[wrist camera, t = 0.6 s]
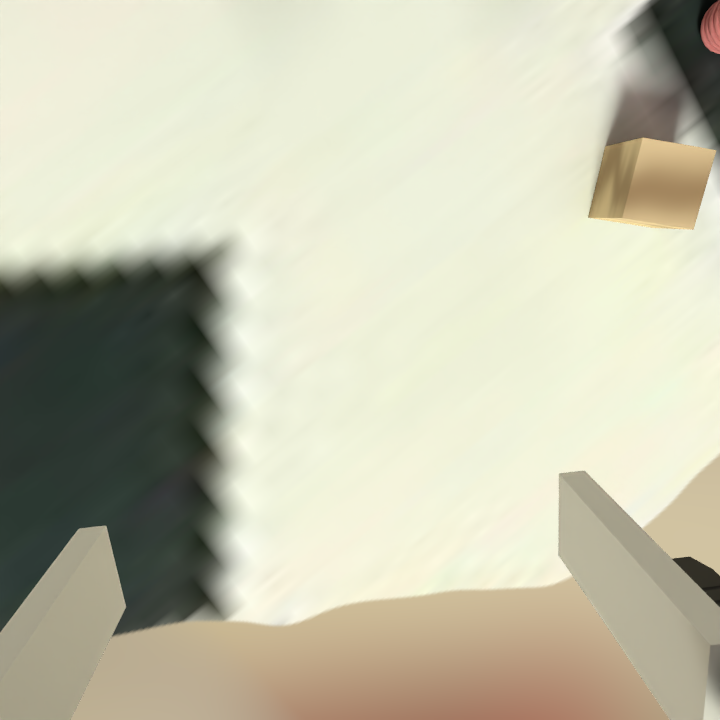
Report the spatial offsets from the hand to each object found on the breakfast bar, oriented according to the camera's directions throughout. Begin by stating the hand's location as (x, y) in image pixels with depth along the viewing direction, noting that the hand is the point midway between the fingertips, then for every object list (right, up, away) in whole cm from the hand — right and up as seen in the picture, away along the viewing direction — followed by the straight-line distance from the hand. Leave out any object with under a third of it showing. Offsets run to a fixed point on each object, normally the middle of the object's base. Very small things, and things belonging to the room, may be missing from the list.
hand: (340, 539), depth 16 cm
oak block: (+20, +18, +25) cm, 37 cm away
